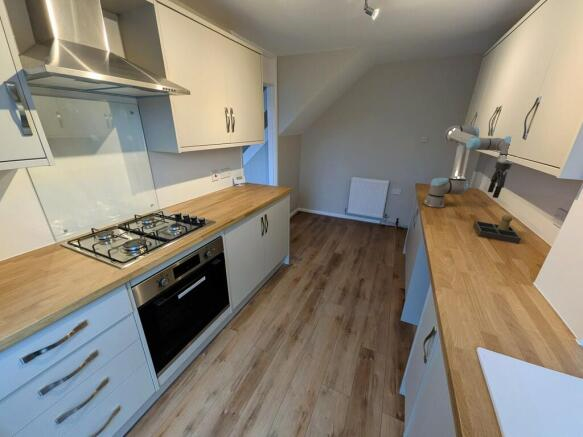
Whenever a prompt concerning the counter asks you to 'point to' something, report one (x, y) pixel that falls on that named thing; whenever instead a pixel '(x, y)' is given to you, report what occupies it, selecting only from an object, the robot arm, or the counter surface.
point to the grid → (496, 232)
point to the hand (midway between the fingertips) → (492, 194)
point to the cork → (505, 222)
